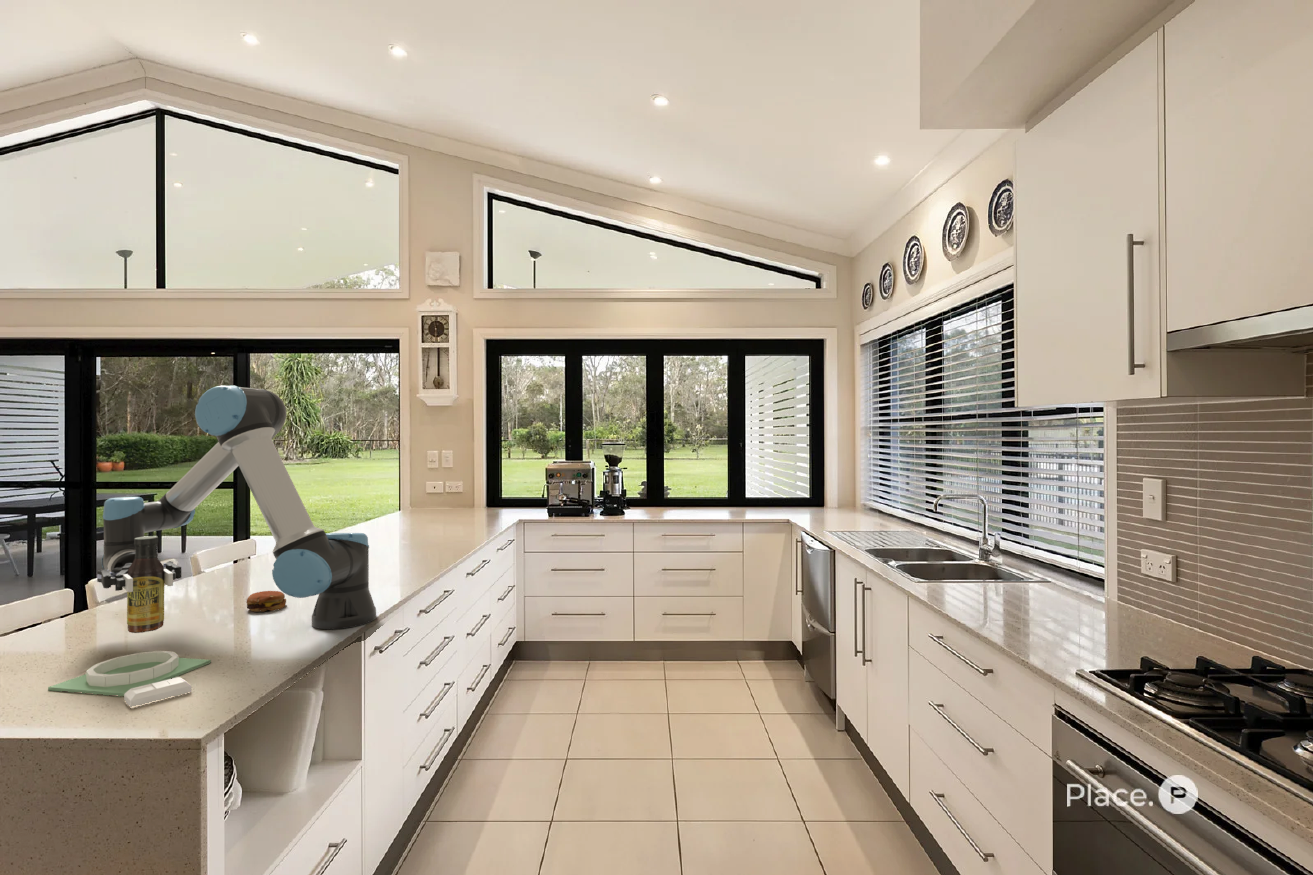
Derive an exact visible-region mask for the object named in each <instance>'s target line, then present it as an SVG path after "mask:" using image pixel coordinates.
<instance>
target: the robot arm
mask: <svg viewBox="0 0 1313 875" xmlns="http://www.w3.org/2000/svg"><path fill="white" fill-rule="evenodd" d="M194 417H195V421H196V424H197V425H198V427H199V428H200V429H201V430H202V431H203V432H204V433H207V434H208V435H210V436H214V437H216V440H217V441H218V442H216V444H214V446H213V447H211V449H210V450H209V451H208V452H206V453H205V454H204V455H203V456H202V457H201V459H199V460H198V461H197V462H196V463H195V464H194V465H193V466H192V467H191V468H190V469H189V470H188V471H187V472H186V473H185V474H184V475H183V476H182V477H181V478H180V479H179V480H178V481H177V482H176V483H175V484H174V485H173V486H172V487H171V488H170V489H169V490H168V491H167V492H166V493H165V494H164V495H162V496H161V497H160V499H158V500H156V501H150V502H149V501H148V502H145V501H144V498H142V497H140V496H124V497H123V496H122V497H121V496H119V497H110V498H108V499H107V500H105V501H104V502H103V513H102V518H103V554H102V557H101V567H102V568H101V569H99V570H97V571H96V574H97V577H96V578H97V579H96V581H97V583H101V584H102V587H103V589H109V588H112V586H115V587H114V588H115V592H119V591H123V589H124V590H125V591H126V592H133V578H132V577H130V576H129V575H128V570H129V568H130V566H131V565H132V563H133V561H134V559H135V545H134V539H135V538H138V537H145V534H146V533H151V532H156V531H162V530H169V529H170V530H171V529H176V528H180V527H182V526H185V525H188V524H190V523H191V522H192V521H193V520H194V516H195V514H196V508H197V506H199V505H200V504H201V503H203V501H205V499H206V498H207V497H208V496H209V495H210V494H211V493H212V492H213V491H215V489H216V488H218V486H220V484H222V483H223V482H224V481H225V480H226V478H228V477H229V475H231V474H232V473H233V472H234V471H235V470H236V469H237V468H238V467H239V469H240V471H241V473H242V475H243V477H244V479H245V482H246V483H247V486H248V487H249V490H250V492H251V494H252V496H253V497H254V500H255V501H256V504H257V506H258V508H259V510H260V512H261V515H262V517H263V519H264V521H265V523H266V525H267V526H268V529H269V531H270V533H271V535H272V537H273V539H274V541H275V545H274V547H273V549H272V555H273V556H274V559H275V561H274V563H273V564H272V565H273V569H272V570H271V572H272V573H271V575H272V579H273V582H274V583H275V585H276V586H277V588H278V589H279V590H280V592H282V593H283V594H284V595H286V596H290V597H292V598H295V599H296V598H298V599H301V598H302V599H303V598H309V597H314V596H317V595H318V597H317V599H316V603H315V605H314V608H313V613H312V615H311V626H312V627H313V628H315V629H319V630H340V629H346V628H347V629H349V628H353V627H358V626H362V625H365V624H368V623H371V622H373V621H374V620H375V619H377V608H376V606H375V603H374V600H373V597H372V594H371V592H370V588H369V586H370V585H369V577H370V576H369V575H370V574H369V573H370V572H369V569H370V568H369V565H370V564H369V559H370V558H369V554H370V553H369V550H370V545H369V537H368V535H367V534H366V533H362V532H329V533H328V532H325V529H322V528H320V527H317V526H316V525H314V523H313V521H312V519H311V517H310V515H309V513H308V511H307V508H306V507H305V505H304V503H303V501H302V499H301V496H300V494H299V492H298V491H297V488H296V487H295V484H294V482H293V480H292V479H291V476H290V474H289V471H288V470H287V468H286V466H285V463H284V462H283V460H282V458H281V455H280V454H279V451H278V450H277V447H276V445H275V444H274V441H273V439H274V438H275V437H276V436H277V434H279V433H280V431H281V430H282V428H283V427H284V425H285V423H286V419H287V408H286V405H285V402H284V401H283V400H282V399H281V398H280V396H278V395H277V394H276V393H274V392H273V391H271V390H268V389H263V388H253V387H241V386H237V385H232V384H231V385H217V386H214V387H211V388H209V389H207V390H206V391H205V392H204V393H202V395H200V397H199V398H198V402H197V404H196V406H195V412H194ZM162 565H163V566H164V585H166V586H167V587H173V586H174V581H175V580H176V579H178V580H179V579H182V566H180V565H178V564H176V563H174V561H172V560H170V561H167V562H163V563H162Z"/></svg>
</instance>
